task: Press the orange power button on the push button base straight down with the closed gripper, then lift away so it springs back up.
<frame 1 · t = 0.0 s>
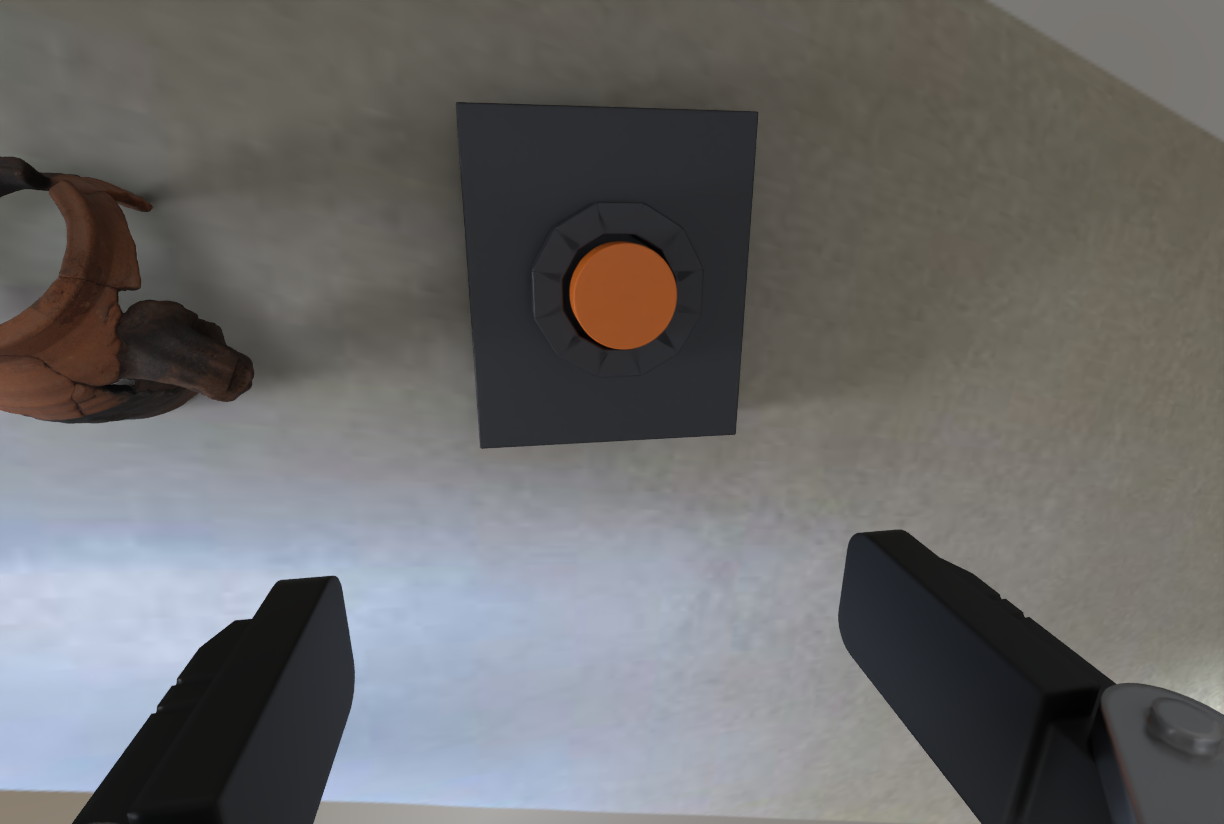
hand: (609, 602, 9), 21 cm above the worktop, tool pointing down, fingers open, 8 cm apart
power button: (622, 295, 23), point 5 cm above the worktop, slide at 0.1 cm
push button base: (602, 281, 28), on the worktop
broken clay vessel: (146, 310, 26), on the worktop
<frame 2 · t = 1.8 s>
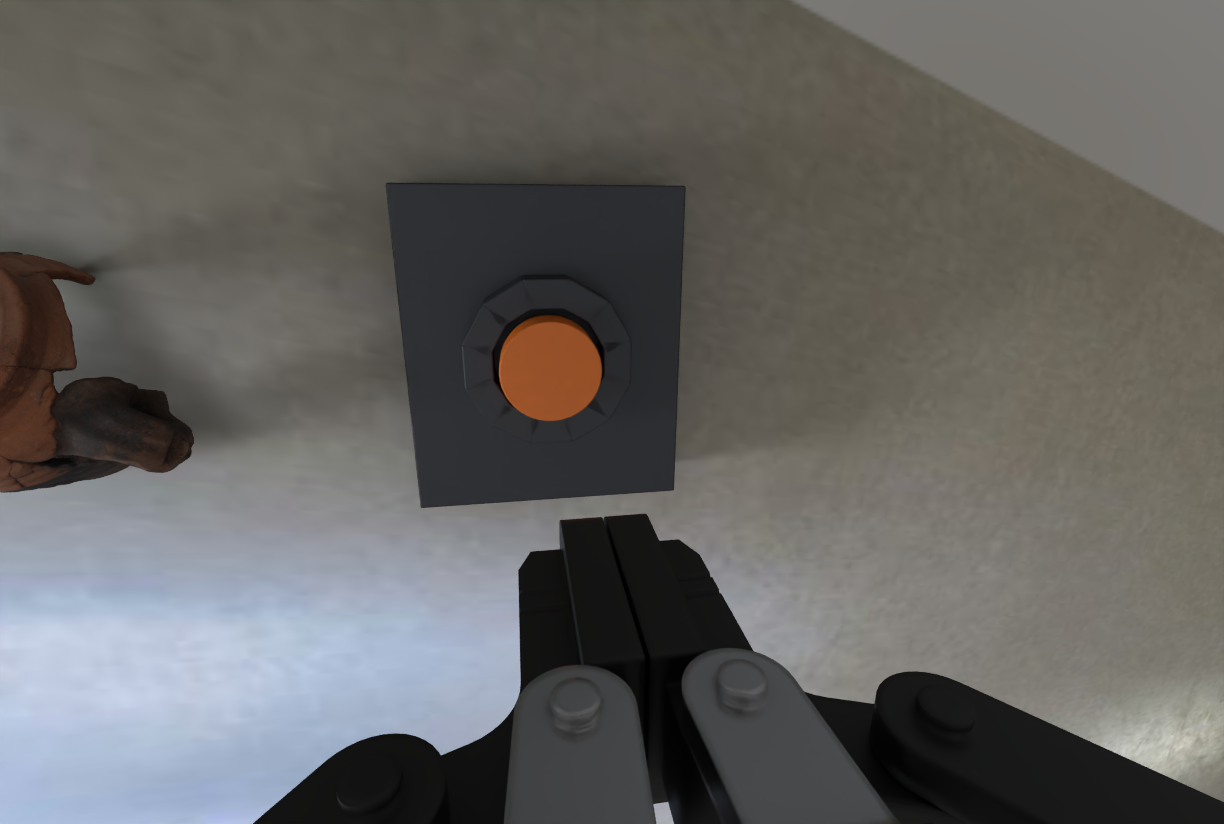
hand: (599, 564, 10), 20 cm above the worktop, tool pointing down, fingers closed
power button: (549, 367, 24), point 5 cm above the worktop, slide at 0.1 cm
push button base: (543, 340, 29), on the worktop
broken clay vessel: (93, 375, 27), on the worktop
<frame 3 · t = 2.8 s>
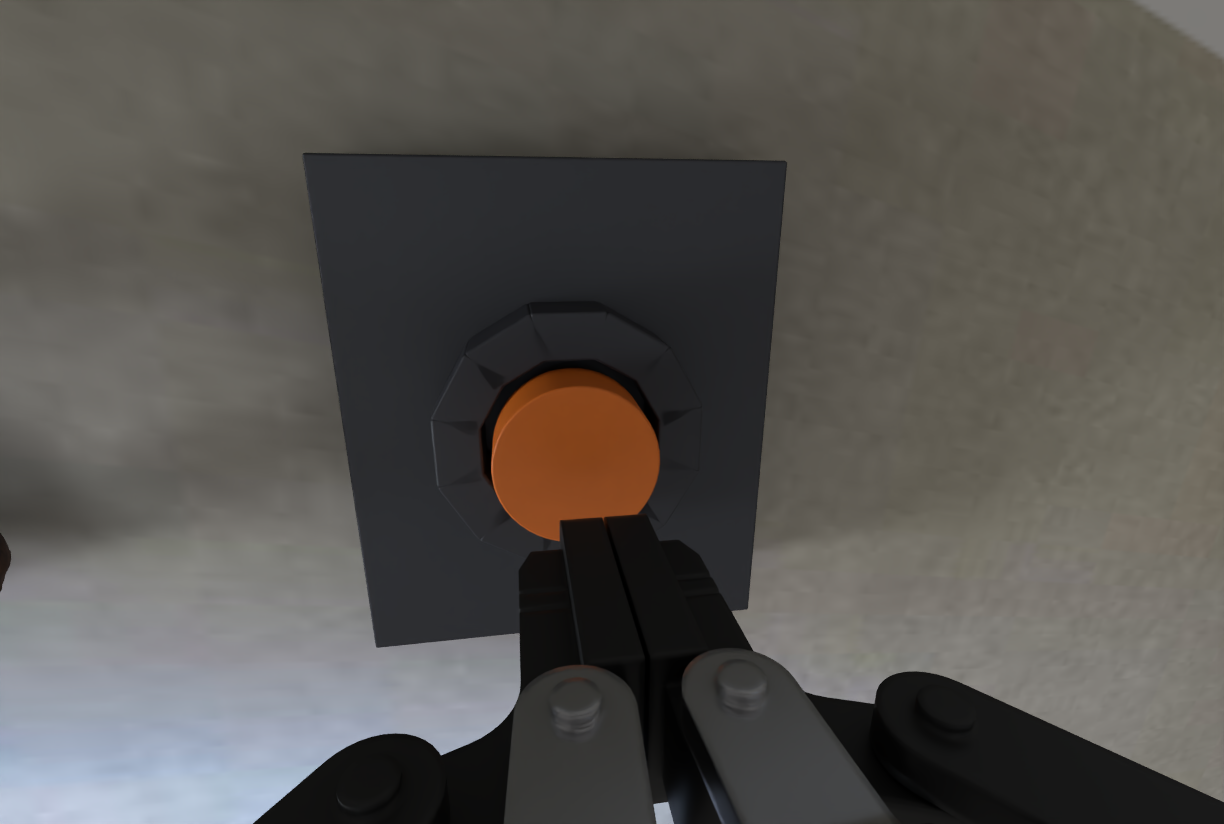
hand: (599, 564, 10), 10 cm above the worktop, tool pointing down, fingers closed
power button: (574, 453, 15), point 5 cm above the worktop, slide at 0.1 cm
push button base: (557, 391, 20), on the worktop
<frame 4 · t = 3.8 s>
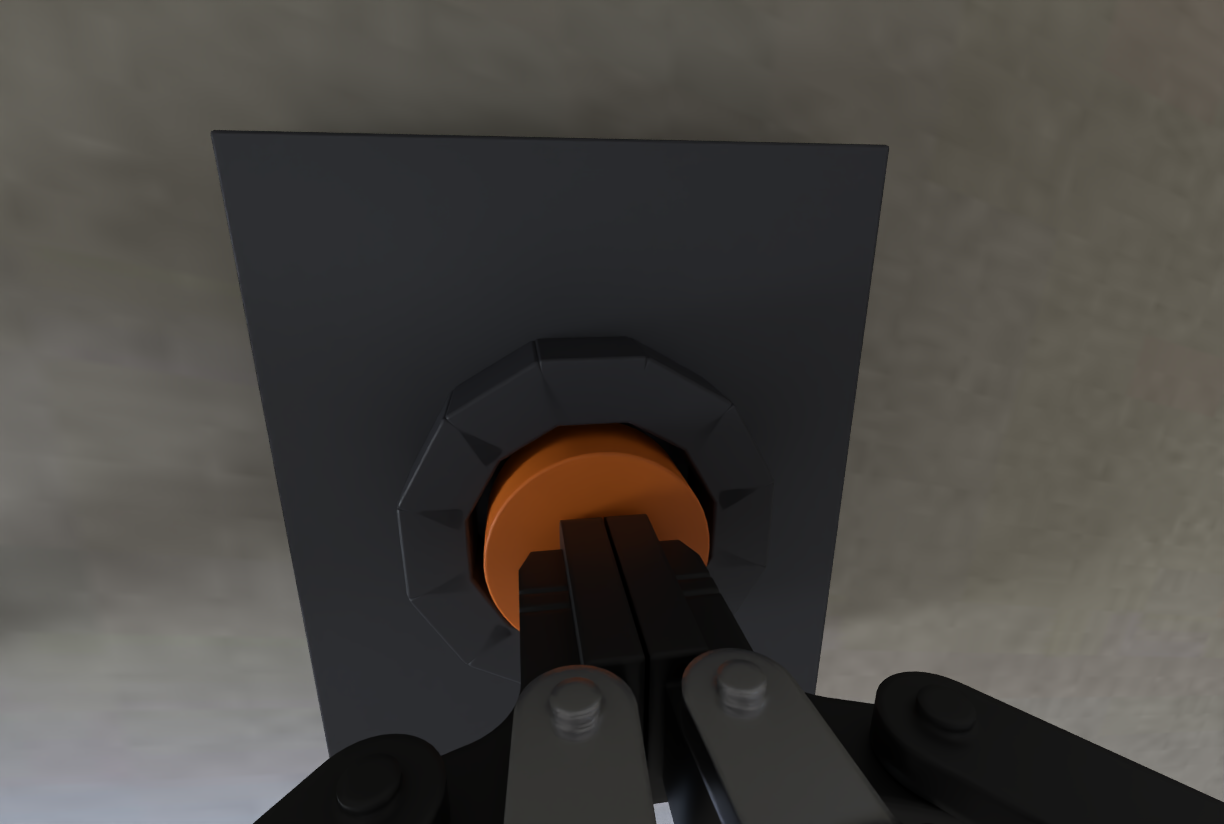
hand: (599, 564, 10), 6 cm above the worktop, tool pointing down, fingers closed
power button: (593, 534, 11), point 5 cm above the worktop, slide at -0.6 cm, touching gripper
push button base: (570, 443, 16), on the worktop
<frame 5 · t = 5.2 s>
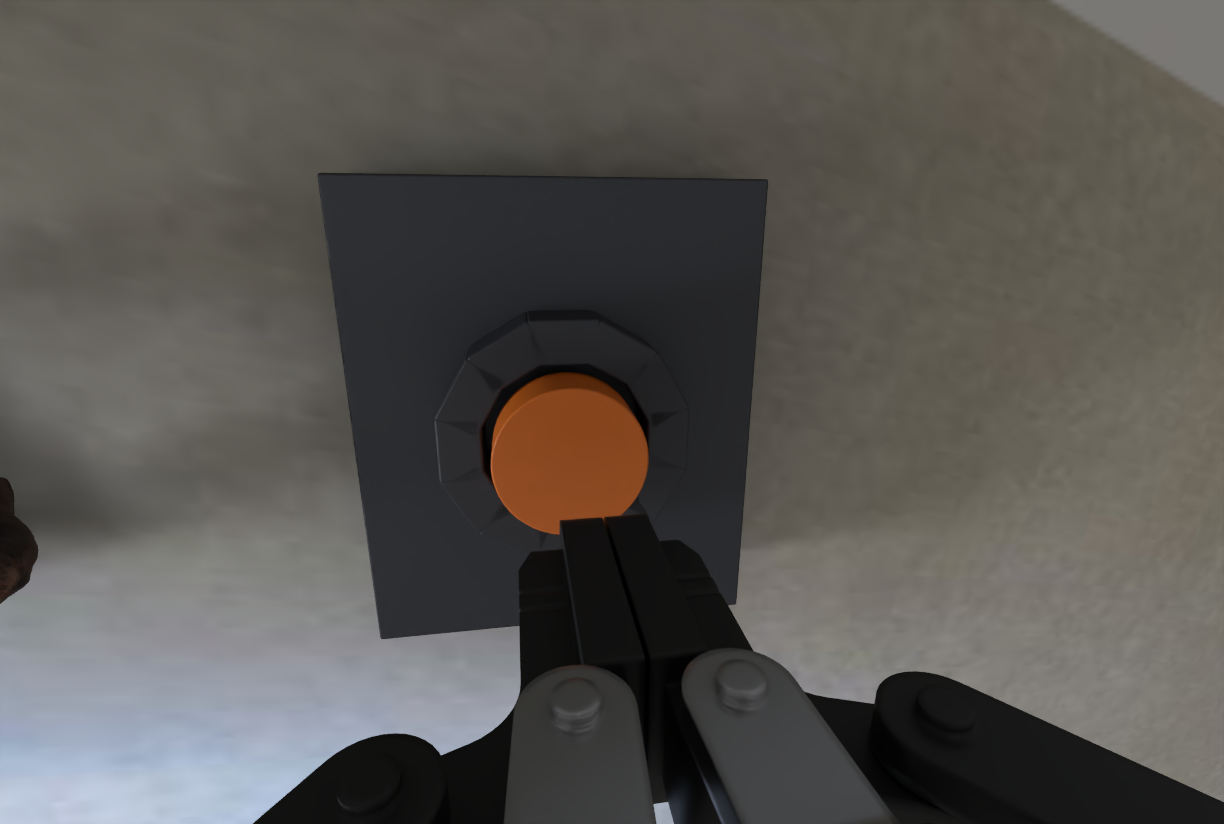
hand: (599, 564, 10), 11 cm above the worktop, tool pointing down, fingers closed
power button: (568, 452, 16), point 5 cm above the worktop, slide at 0.1 cm
push button base: (554, 396, 21), on the worktop
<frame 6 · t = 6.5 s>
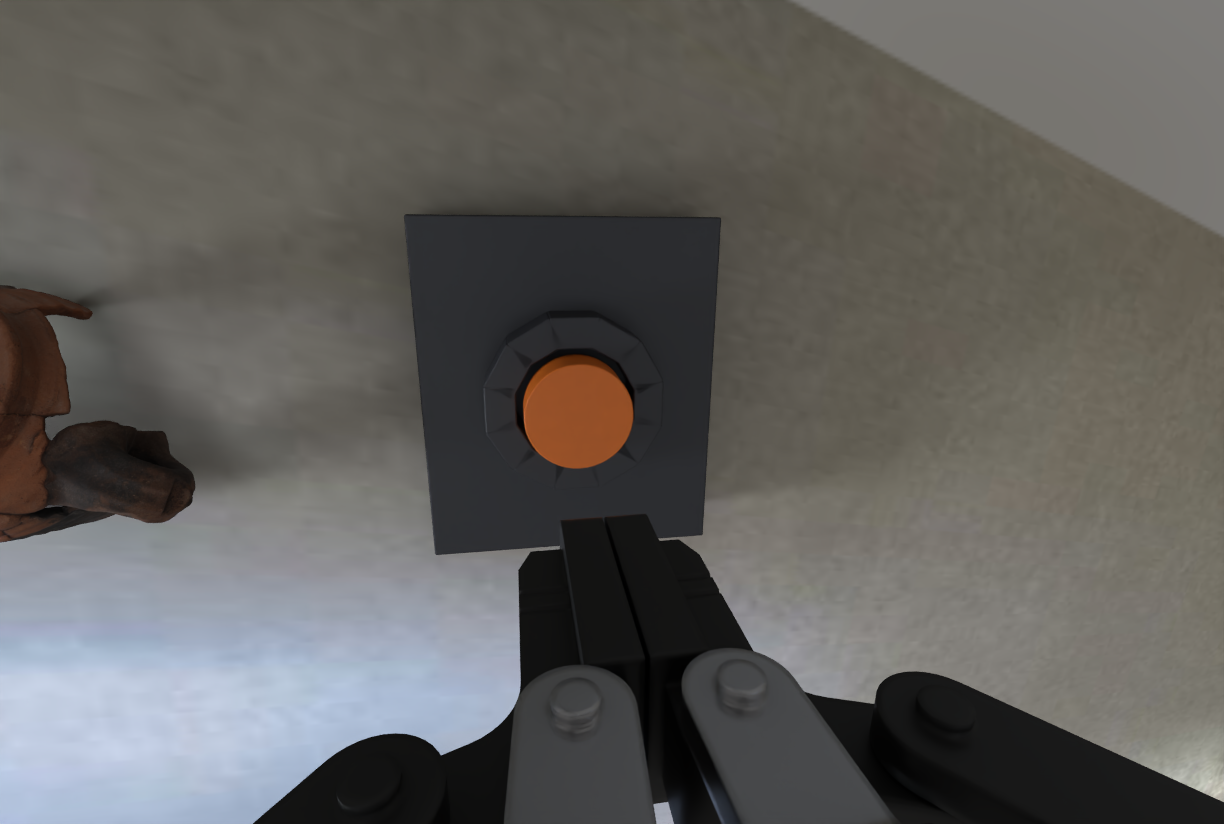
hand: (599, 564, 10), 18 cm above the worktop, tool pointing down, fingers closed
power button: (577, 410, 22), point 5 cm above the worktop, slide at 0.1 cm
push button base: (565, 376, 28), on the worktop
broken clay vessel: (88, 413, 25), on the worktop
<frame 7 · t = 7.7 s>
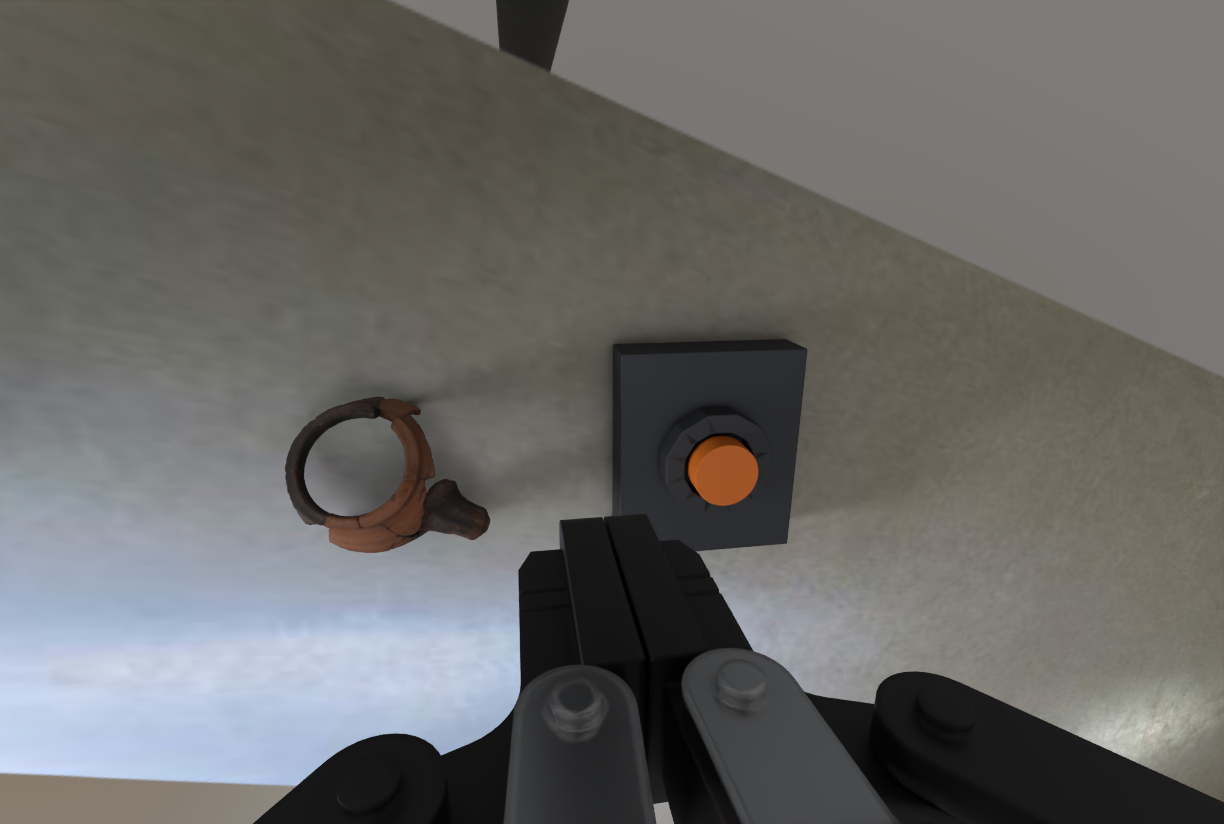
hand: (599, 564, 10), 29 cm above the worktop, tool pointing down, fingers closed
power button: (722, 470, 37), point 5 cm above the worktop, slide at 0.1 cm
push button base: (696, 439, 42), on the worktop
broken clay vessel: (403, 468, 39), on the worktop
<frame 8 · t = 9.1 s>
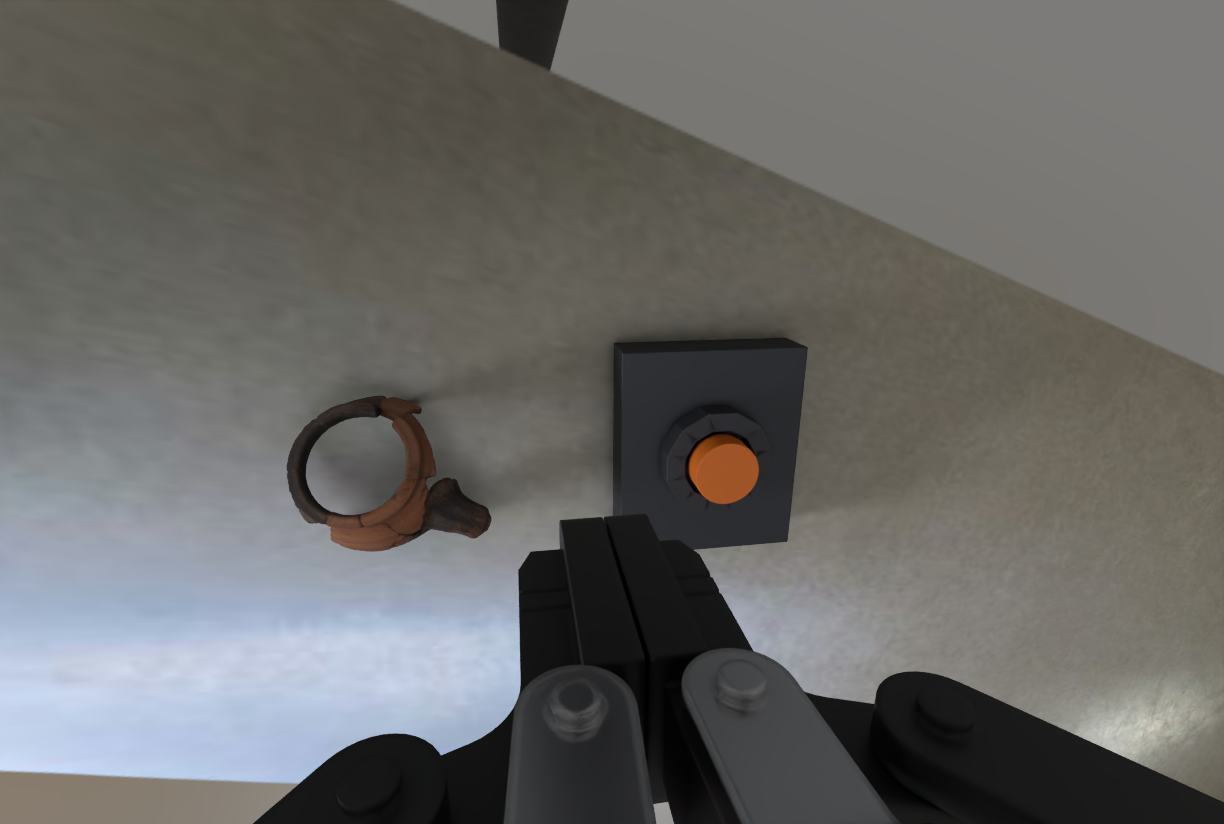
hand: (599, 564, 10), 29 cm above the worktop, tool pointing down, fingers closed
power button: (723, 468, 37), point 5 cm above the worktop, slide at 0.1 cm
push button base: (697, 438, 42), on the worktop
broken clay vessel: (404, 467, 40), on the worktop
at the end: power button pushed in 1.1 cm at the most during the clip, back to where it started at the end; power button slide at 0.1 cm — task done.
